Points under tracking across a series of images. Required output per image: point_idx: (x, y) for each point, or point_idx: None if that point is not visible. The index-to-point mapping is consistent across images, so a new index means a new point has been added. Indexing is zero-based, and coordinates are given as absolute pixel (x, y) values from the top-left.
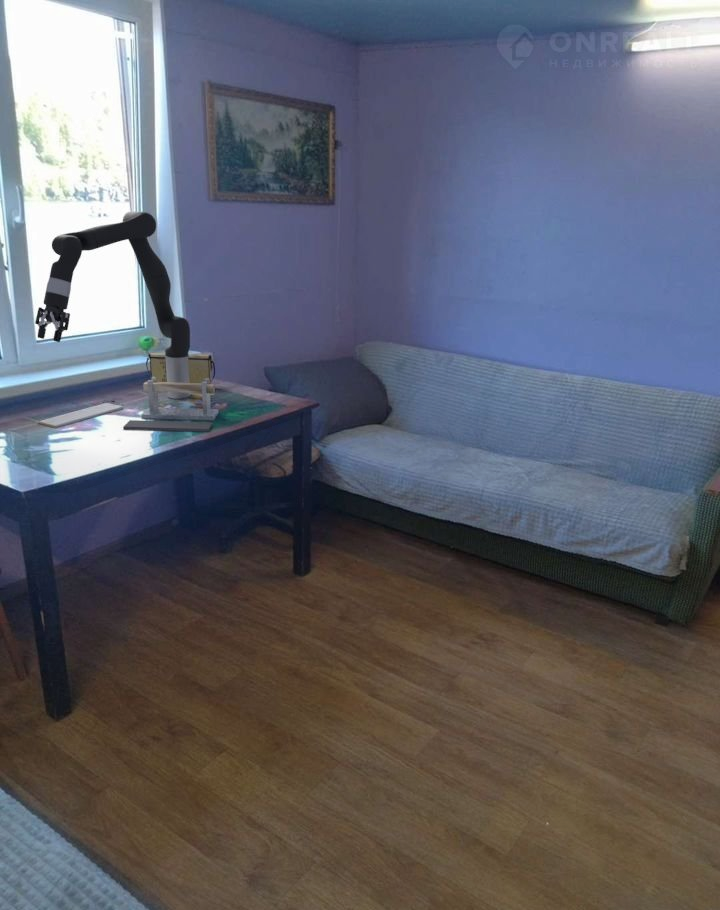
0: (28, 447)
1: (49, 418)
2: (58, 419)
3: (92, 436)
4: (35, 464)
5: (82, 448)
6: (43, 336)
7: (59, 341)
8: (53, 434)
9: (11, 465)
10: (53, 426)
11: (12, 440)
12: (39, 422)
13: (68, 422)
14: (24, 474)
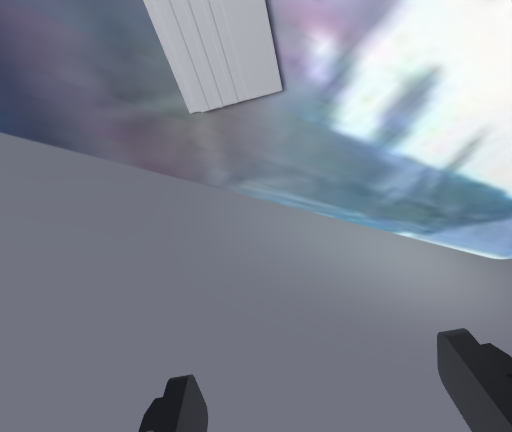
0: (378, 193)
1: (189, 72)
2: (219, 51)
3: (453, 29)
4: (477, 213)
5: (504, 106)
6: (189, 398)
7: (465, 332)
8: (336, 117)
9: (439, 239)
10: (272, 91)
11: (305, 202)
12: (205, 109)
13: (270, 33)
14: (497, 237)
